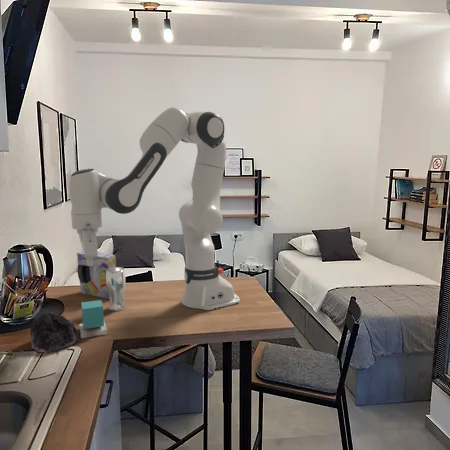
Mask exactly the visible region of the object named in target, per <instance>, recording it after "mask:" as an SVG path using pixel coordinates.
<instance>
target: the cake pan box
mask: <svg viewBox="0 0 450 450" xmlns="http://www.w3.org/2000/svg"><path fill="white" fill-rule="evenodd" d="M76 255H77V269H76V270H77V277H78V280H79V285H80V288H79V289H80V293H81V294H85V295H89V296H94V297H96V298H101V299H102V298H103V299H107V300H109V295H108V291H107V286H106V270H107V269H108V268H113V267H117V261H116V255H115V254H109V253H104V252H100V251H99V252H98V255H97V257H93V266H88V265H87V261H86V257H85V255H84V251H83V250H82V251H79V252H77V253H76Z"/></svg>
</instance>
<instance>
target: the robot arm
mask: <svg viewBox="0 0 450 450" xmlns="http://www.w3.org/2000/svg"><path fill="white" fill-rule="evenodd" d="M224 136H225V122H224V120H223V118H222V116H221V115H219V114H218V113H215V112H212V111H194V112H189V113H188V112H187V113H186V112H184V111H183V110H182V109H180V108H179V107H175V106H174V107H173V106H171V107H169V108H166V109H165V110H164V111H163V112H161V113H160V114H159V115H158V116H157V117H156V118H155V119H154V120H153V121H152V122H151V123H150V124H149V125H148V126H147V127H146V129H145V130H144V131H143V133H142V135H141V136H140V138H139V148H140V150H141V152H142V155H141V158H140V159H139V160H138V161H137V163H136V164H135V166H134V167H133V168H132V170H131V171H130V172H129V174H128V175H126V176H125V177H123V178H121V179H118V178H113V177H110V176H107V175H105V174H103V173H100V171H97V169H95V168H86V169H80V170H76V171H74V172H73V173H72V174H71V175H70V177H69V186H68V187H69V188H68V189H69V201H70V203H71V211H70V212H71V213H70V216H71V228H72V229H73V230H76V234H78V235H79V242H80V244H81V247H82V251H84V255H85V257H86V261H87V265H88V266H93V257H97V255H98V251H99V250H98V240H97V233H98V232H99V228H101V227H103V222H102V219H103V218H102V210H103V209H105V208H106V209H108V210H112V211H113V212H116V213H118V214H121V215H122V214H123V215H125V214H129V213H132V212H134V211H135V210H136V209H137V208H138V207H139V205H140V203H141V201H142V198H143V194H144V192H145V189H146V188H147V186H148V184H150V182H151V181H152V179H153V178H154V176H155V175H156V174H157V172H158V171H159V169H161V166H162V165H163V163H164V161H165V160H166V159H167V157H168V156H169V155H170V154H171V153H172V151H173V150H174V149H175V148H176V147H177V146H178V144H179V143H180V141H181V142H183V143H186V144H188V143H189V144H194V145H196V148H197V153H196V154H197V155H196V159H195V163H194V168H193V173H192V178H191V184H190V185H191V186H190V187H191V189H192V201H191V200H190V201H188V202H185V203H184V204H182V205H181V206H180V208H179V211H178V217H179V220H180V225H181V230H182V237H183V242H184V248H185V249H184V250H185V267H184V274H183V275H184V282H185V283H184V284H185V286H184V291H183V297H182V301H181V303H182V305H184V307H188V308H192V309H199V310H204V311H212V310H215V308H216V309H219V307H220V308H223V307H227V306H232V305H236V303H237V304H240V302H241V301H240V300H241V299H240V297H239V296H238V295H237V294H236V293H235V291H234V287H233V285H232V284H231V283H230V282H229V281H228V280H227V279H225V278H223V276H222V275H223V274H224V271H225V270H224V269H223V268H221V267H217V266H216V265H215V244H214V243H213V239H212V236H211V235H213V234H216V233H218V232H219V231H220V229H221V228H222V226H223V224H224V223H223V222H224V218H223V215H222V212H221V187H222V181H223V178H224V172H225V168H226V167H225V166H226V159H227V145H226V142H225V141H224Z"/></svg>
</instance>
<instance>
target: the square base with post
mask: <svg viewBox="0 0 450 450" xmlns="http://www.w3.org/2000/svg"><path fill="white" fill-rule="evenodd" d="M79 334H80V339H86V338H91V337H97V336H106V335H108V328H107V325H106V321H105V320H104V326H100V327H94V328H87V329H84V328H83V323H80V324H79Z"/></svg>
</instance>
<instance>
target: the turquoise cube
mask: <svg viewBox="0 0 450 450" xmlns="http://www.w3.org/2000/svg"><path fill="white" fill-rule="evenodd" d="M80 304H81V320H82V324H83V328H84V329H87V328H94V327H100V326H104V321H105V319H104V317H105V316H104V315H105V314H104V305H103V301H102V300H101V299H100V300H93V301H92V300H89V301H84V302H81V303H80Z"/></svg>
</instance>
